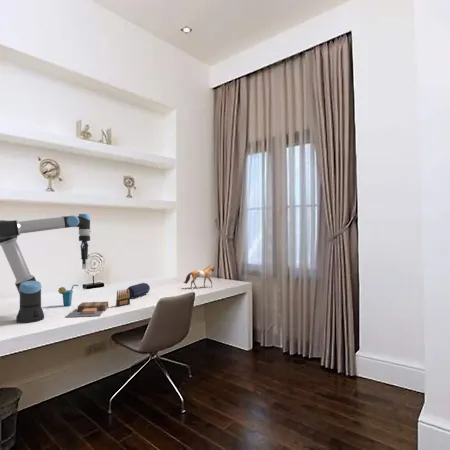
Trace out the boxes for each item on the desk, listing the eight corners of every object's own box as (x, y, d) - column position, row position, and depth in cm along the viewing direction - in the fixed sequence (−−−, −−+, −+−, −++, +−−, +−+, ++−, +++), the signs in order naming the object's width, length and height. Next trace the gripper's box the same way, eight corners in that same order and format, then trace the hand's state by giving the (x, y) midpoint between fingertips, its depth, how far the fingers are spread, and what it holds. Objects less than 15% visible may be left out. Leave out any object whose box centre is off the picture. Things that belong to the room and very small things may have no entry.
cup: (76, 303, 259) (76, 283, 259) (80, 304, 253) (80, 284, 254) (56, 306, 249) (56, 285, 249) (60, 307, 244) (60, 287, 244)
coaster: (82, 314, 223) (82, 311, 223) (84, 311, 231) (84, 308, 231) (94, 313, 225) (94, 310, 225) (97, 310, 232) (97, 307, 232)
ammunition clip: (128, 304, 255) (128, 288, 255) (130, 304, 253) (130, 288, 254) (115, 306, 246) (115, 290, 247) (117, 307, 245) (117, 290, 245)
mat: (65, 317, 216) (65, 317, 216) (70, 313, 228) (70, 312, 228) (99, 316, 220) (99, 315, 220) (103, 311, 231) (103, 311, 231)
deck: (77, 312, 231) (77, 306, 231) (82, 308, 242) (82, 302, 242) (105, 310, 233) (105, 305, 234) (108, 307, 245) (108, 301, 245)
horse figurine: (214, 286, 331) (214, 265, 332) (217, 287, 324) (216, 266, 324) (183, 288, 321) (183, 266, 321) (185, 289, 314) (185, 267, 314)
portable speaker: (141, 293, 298) (141, 281, 298) (151, 293, 295) (151, 282, 295) (123, 298, 274) (123, 286, 274) (134, 299, 271) (134, 287, 271)
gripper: (87, 235, 237) (87, 269, 236) (92, 235, 249) (92, 267, 249) (76, 235, 235) (76, 269, 235) (81, 235, 248) (81, 267, 248)
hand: (84, 268), depth 242 cm, fingers closed
